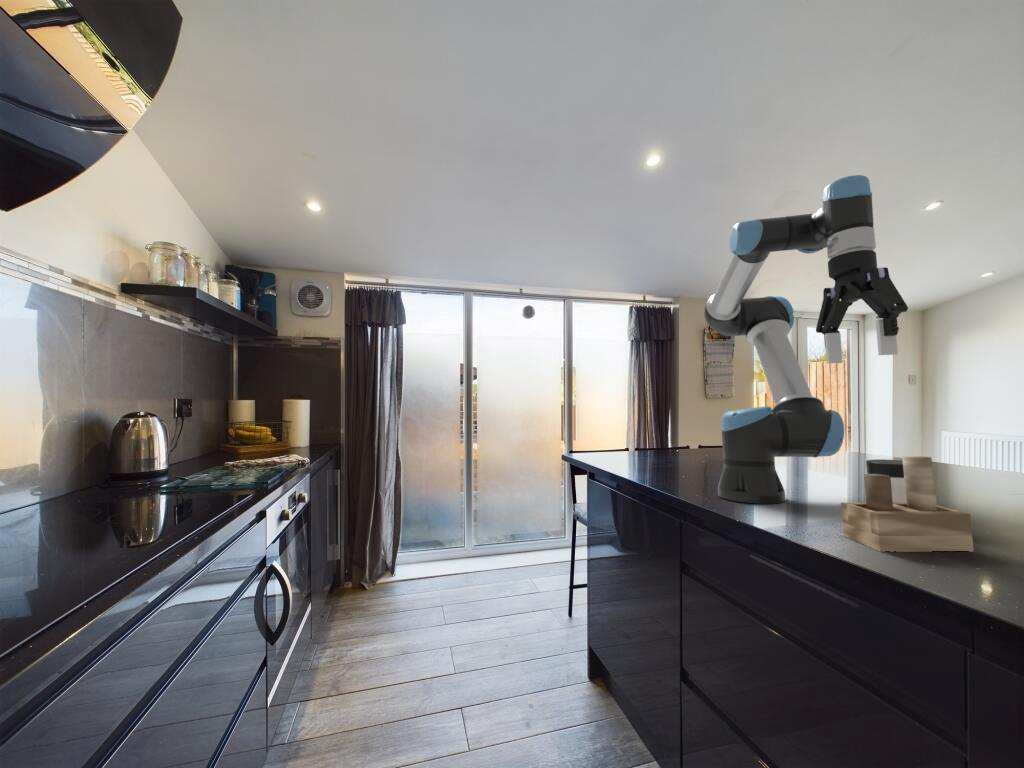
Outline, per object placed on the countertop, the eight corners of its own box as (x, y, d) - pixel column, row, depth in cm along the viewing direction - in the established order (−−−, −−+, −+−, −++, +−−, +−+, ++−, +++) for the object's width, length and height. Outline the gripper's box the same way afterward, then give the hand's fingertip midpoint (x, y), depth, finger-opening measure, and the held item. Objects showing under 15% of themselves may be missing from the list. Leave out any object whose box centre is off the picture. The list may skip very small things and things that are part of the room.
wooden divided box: (843, 536, 73) (840, 502, 74) (926, 536, 72) (923, 502, 73) (880, 551, 65) (877, 513, 66) (973, 551, 64) (970, 513, 65)
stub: (862, 525, 71) (858, 473, 72) (883, 525, 71) (879, 473, 71) (878, 531, 68) (874, 477, 68) (900, 531, 67) (896, 476, 68)
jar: (919, 531, 75) (914, 466, 76) (863, 521, 82) (859, 461, 83) (932, 522, 80) (926, 461, 81) (878, 514, 87) (874, 458, 88)
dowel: (903, 525, 71) (896, 456, 72) (925, 525, 70) (918, 455, 71) (922, 531, 67) (914, 458, 68) (945, 531, 67) (937, 457, 68)
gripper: (793, 276, 95) (799, 366, 93) (882, 229, 70) (892, 350, 68) (827, 274, 94) (834, 365, 93) (929, 226, 69) (940, 349, 68)
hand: (859, 359), depth 81 cm, fingers open, 13 cm apart
